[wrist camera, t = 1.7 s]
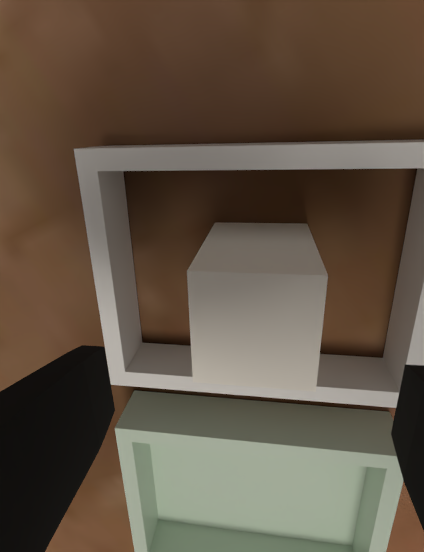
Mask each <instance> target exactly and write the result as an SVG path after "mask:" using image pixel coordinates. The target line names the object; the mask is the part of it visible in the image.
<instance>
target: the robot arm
mask: <svg viewBox="0 0 424 552" xmlns="http://www.w3.org/2000/svg"><path fill="white" fill-rule="evenodd" d="M114 411H115V408H114V402H113V396H112V390H111V384H110V378H109V372H108V366H107V360H106V354H105V348H104V347H100V346H83V345H82V346H80V347H78V348H76V349H74V350H72V351H70V352H68V353H66V354H64V355H63V356H61V357H59V358H57V359H56V360H54V361H52V362H50V363H49V364H47V365H45V366H44V367H42V368H40V369H38V370H37V371H35V372H33V373H32V374H30V375H28V376H27V377H25V378H23V379H21V380H20V381H18V382H16V383H14V384H13V385H11V386H9V387H8V388H6V389H4V390H2V391H1V392H0V552H45V551H46V549H47V547H48V544H49V542H50V541H51V539H52V537H53V535H54V533H55V531H56V529H57V528H58V526H59V524H60V522H61V520H62V518H63V517H64V515H65V513H66V511H67V509H68V507H69V506H70V504H71V502H72V500H73V498H74V496H75V494H76V493H77V491H78V489H79V487H80V485H81V483H82V482H83V480H84V478H85V476H86V474H87V472H88V470H89V468H90V467H91V465H92V463H93V461H94V459H95V457H96V455H97V453H98V451H99V449H100V447H101V445H102V442H103V440H104V438H105V435H106V433H107V430H108V427H109V425H110V422H111V419H112V417H113V414H114ZM391 436H392V440H393V444H394V448H395V452H396V455H397V459H398V463H399V466H400V470H401V473H402V477H403V480H404V482H405V485H406V488H407V490H408V493H409V495H410V498H411V500H412V503H413V505H414V508H415V510H416V513H417V515H418V518H419V520H420V523H421V525H422V528H423V530H424V366H423V365H406V364H405V367H404V372H403V377H402V382H401V387H400V392H399V397H398V401H397V406H396V411H395V416H394V421H393V426H392V431H391Z"/></svg>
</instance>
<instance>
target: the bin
mask: <svg viewBox="0 0 424 552" xmlns="http://www.w3.org/2000/svg"><path fill="white" fill-rule="evenodd" d="M74 154H75V160H76V166H77V173H78V179H79V186H80V192H81V198H82V205H83V211H84V217H85V224H86V230H87V236H88V243H89V249H90V255H91V262H92V268H93V274H94V281H95V287H96V293H97V300H98V306H99V312H100V319H101V325H102V331H103V338H104V344H105V350H106V357H107V363H108V369H109V376H110V382H111V385H122V386H135V387H147V388H159V389H171V390H184V391H196V392H208V393H220V394H232V395H245V396H257V397H269V398H281V399H294V400H306V401H318V402H330V403H342V404H355V405H367V406H379V407H391V408H396V406H397V401H398V397H399V392H400V387H401V382H402V377H403V372H404V367H405V364H406V365H423V366H424V140H374V141H324V142H273V143H223V144H173V145H122V146H97V147H87V148H77V149H74ZM402 168H417V173H416V179H415V184H414V190H413V195H412V201H411V206H410V211H409V217H408V222H407V228H406V233H405V239H404V244H403V250H402V255H401V261H400V266H399V272H398V277H397V283H396V288H395V293H394V299H393V304H392V310H391V315H390V321H389V326H388V332H387V337H386V343H385V348H384V354H383V358H377V357H362V356H346V355H330V354H320V357H319V366H318V376H317V385H316V392H314V391H301V390H288V389H275V388H262V387H249V386H236V385H223V384H210V383H197V382H193V375H192V356H191V346H187V345H172V344H156V343H142V334H141V325H140V316H139V307H138V298H137V289H136V280H135V271H134V262H133V253H132V244H131V235H130V227H129V218H128V209H127V200H126V191H125V182H124V173H123V171H181V170H292V169H402Z"/></svg>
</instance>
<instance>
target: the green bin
mask: <svg viewBox="0 0 424 552" xmlns="http://www.w3.org/2000/svg"><path fill="white" fill-rule="evenodd" d="M392 426H393V418H392V416H391V414H390V412H387V411H375V410H363V409H351V408H339V407H327V406H315V405H303V404H291V403H279V402H267V401H255V400H243V399H231V398H219V397H207V396H195V395H183V394H171V393H159V392H147V391H135V390H134V392H133V394H132V396H131V398H130V400H129V402H128V403H127V405H126V407H125V409H124V411H123V413H122V415H121V417H120V419H119V421H118V423H117V425H116V427H115V433H116V439H117V445H118V452H119V458H120V464H121V470H122V476H123V482H124V489H125V495H126V501H127V507H128V513H129V520H130V526H131V532H132V538H133V544H134V550H135V552H386V550H387V545H388V541H389V537H390V533H391V529H392V525H393V521H394V517H395V513H396V509H397V505H398V501H399V497H400V493H401V488H402V484H403V477H402V473H401V470H400V466H399V463H398V459H397V455H396V452H395V448H394V444H393V440H392V436H391V431H392Z"/></svg>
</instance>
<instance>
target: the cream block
mask: <svg viewBox="0 0 424 552" xmlns="http://www.w3.org/2000/svg"><path fill="white" fill-rule="evenodd" d="M327 280H328V274H327V272H326V269H325V267H324V264H323V262H322V259H321V257H320V254H319V252H318V249H317V247H316V244H315V242H314V239H313V237H312V234H311V232H310V229H309V227H308V224H302V223H220V222H215V223H214V225H213V227H212V229H211V230H210V232H209V234H208V236H207V237H206V239H205V241H204V242H203V244H202V246H201V248H200V249H199V251H198V253H197V255H196V256H195V258H194V260H193V261H192V263H191V265H190V267H189V268H188V270H187V281H188V300H189V319H190V337H191V356H192V375H193V382H197V383H210V384H223V385H236V386H249V387H262V388H275V389H288V390H301V391H314V392H316V385H317V376H318V366H319V357H320V347H321V338H322V328H323V319H324V309H325V299H326V290H327Z"/></svg>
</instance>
